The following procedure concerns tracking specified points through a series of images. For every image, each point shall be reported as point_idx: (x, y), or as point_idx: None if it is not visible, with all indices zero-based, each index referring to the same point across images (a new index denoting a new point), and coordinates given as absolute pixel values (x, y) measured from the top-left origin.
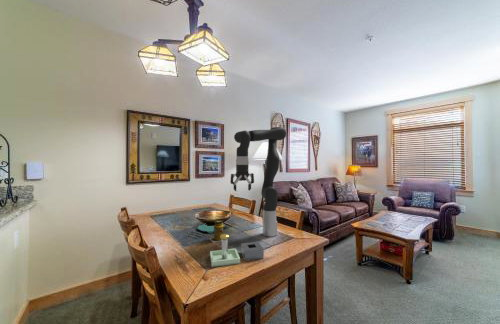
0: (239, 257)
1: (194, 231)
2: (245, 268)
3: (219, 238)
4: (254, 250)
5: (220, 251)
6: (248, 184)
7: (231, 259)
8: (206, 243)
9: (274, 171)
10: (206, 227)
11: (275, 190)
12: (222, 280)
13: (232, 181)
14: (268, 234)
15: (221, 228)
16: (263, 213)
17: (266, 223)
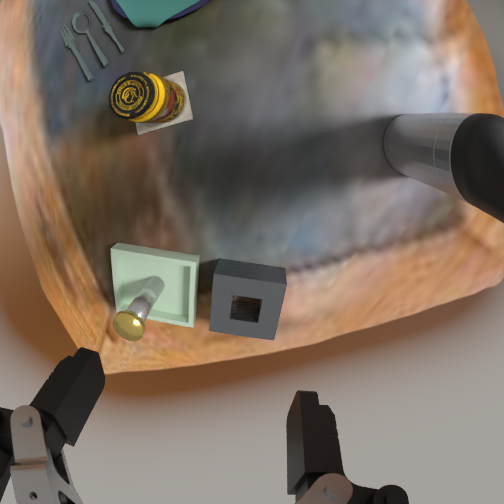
0: (192, 322)
1: (95, 5)
2: (203, 342)
3: (161, 122)
4: (241, 335)
5: (143, 257)
6: (296, 478)
7: (167, 322)
8: (113, 133)
9: None
10: None
11: None
12: (145, 356)
13: (7, 461)
14: (397, 169)
15: (153, 118)
16: (437, 148)
17: (414, 169)
